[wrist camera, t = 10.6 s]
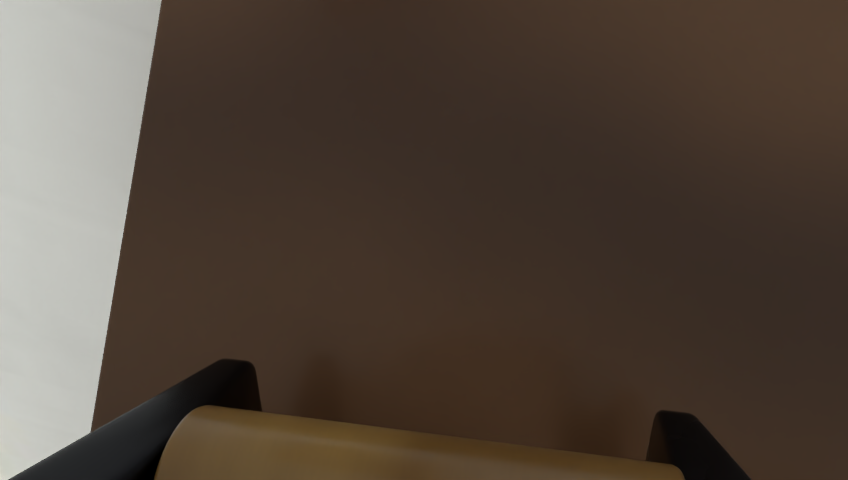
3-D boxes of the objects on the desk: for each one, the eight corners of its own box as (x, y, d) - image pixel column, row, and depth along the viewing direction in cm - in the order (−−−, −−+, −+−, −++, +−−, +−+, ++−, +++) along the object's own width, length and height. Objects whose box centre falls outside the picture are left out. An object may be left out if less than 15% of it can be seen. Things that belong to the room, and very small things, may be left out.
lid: (860, 657, 9) (1175, 959, 5) (102, 530, 11) (-186, 658, 7) (869, -155, 11) (1108, -505, 6) (209, -142, 13) (36, -403, 8)
